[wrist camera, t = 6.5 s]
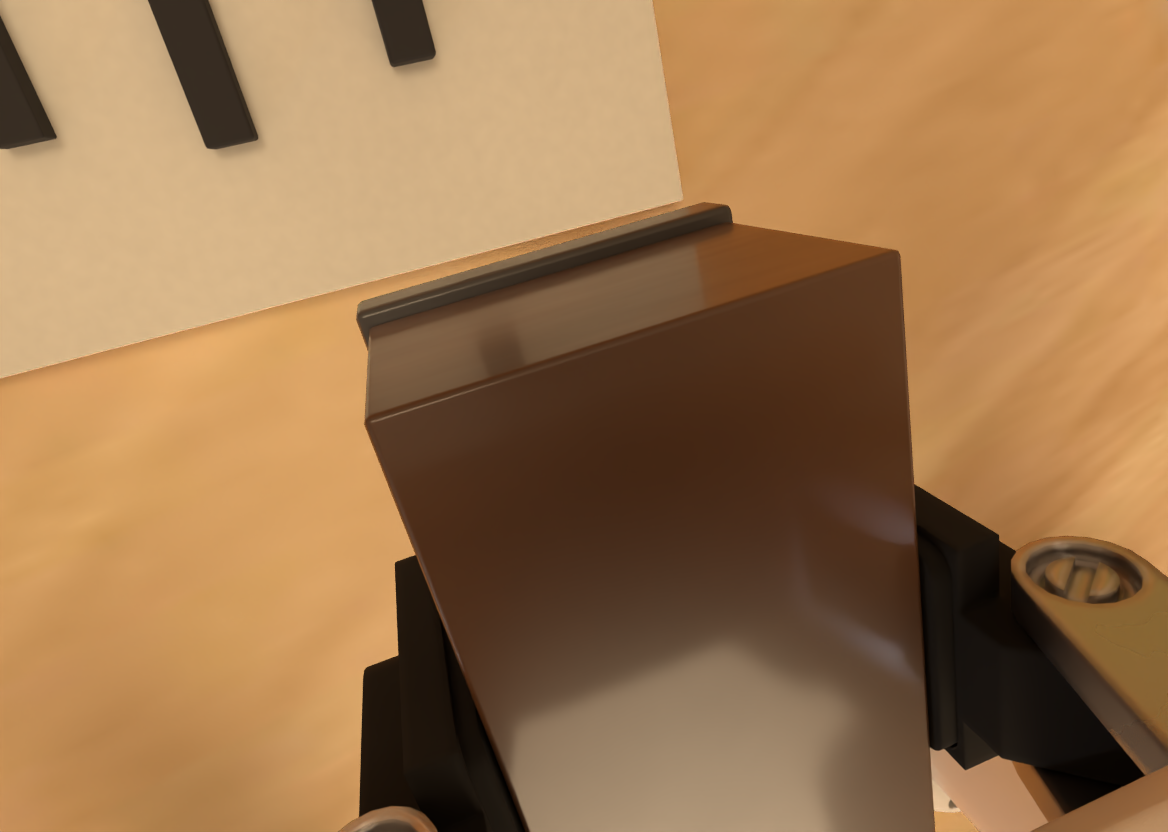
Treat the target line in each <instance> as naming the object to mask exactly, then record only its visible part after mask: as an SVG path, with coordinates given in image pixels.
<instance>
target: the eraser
mask: <svg viewBox="0 0 1168 832" xmlns="http://www.w3.org/2000/svg"><path fill="white" fill-rule="evenodd" d="M356 320H357V323H358V326H359V328H360V331H361V334H362V336H363V339H364V342H365V344H366V347H367V350H368V366H367V385H366V404H365V424H364V425H365V427H366V430H367V433H368V435H369V438H370V440H371V443H372V445H373V448H374V450H375V453H376V455H377V458H378V460H379V463H380V465H381V468H382V471H383V473H384V476H385V478H386V481H387V483H388V486H389V488H390V491H391V493H392V496H393V498H394V501H395V503H396V506H397V509H398V511H399V514H400V516H401V519H402V521H403V524H404V526H405V529H406V531H407V534H408V536H409V539H410V542H411V544H412V547H413V549H414V552H415V554H416V557H417V559H418V562H419V564H420V567H421V569H422V572H423V574H424V577H425V580H426V582H427V585H428V587H429V590H430V592H431V595H432V597H433V600H434V602H435V605H436V607H437V610H438V612H439V615H440V618H441V620H442V623H443V625H444V628H445V630H446V633H447V635H448V638H449V640H450V643H451V645H452V648H453V650H454V653H455V656H456V658H457V661H458V663H459V666H460V668H461V671H462V673H463V676H464V678H465V681H466V683H467V686H468V688H469V691H470V694H471V696H472V699H473V701H474V704H475V706H476V709H477V711H478V714H479V716H480V719H481V721H482V724H483V726H484V729H485V732H486V734H487V737H488V739H489V742H490V744H491V747H492V749H493V752H494V754H495V757H496V759H497V762H498V764H499V767H500V770H501V772H502V775H503V777H504V780H505V782H506V785H507V787H508V790H509V792H510V795H511V797H512V800H513V802H514V805H515V808H516V810H517V813H518V815H519V818H520V820H521V823H522V825H523V828H524V830H525V832H935V821H934V805H933V788H932V772H931V755H930V739H929V722H928V706H927V689H926V673H925V656H924V640H923V623H922V607H921V590H920V574H919V557H918V541H917V524H916V508H915V491H914V475H913V458H912V442H911V425H910V409H909V392H908V376H907V359H906V343H905V327H904V310H903V294H902V277H901V261H900V254H899V252H898V251H897V250H892V249H886V248H880V247H874V246H868V245H862V244H856V243H850V242H844V241H838V240H832V239H826V238H820V237H814V236H808V235H801V234H795V233H789V232H783V231H777V230H771V229H765V228H759V227H753V226H747V225H741V224H735V223H733V221H732V214H731V210H730V208H729V206H728V205H722V204H714V203H705V202H703V203H699V204H696V205H693V206H689V207H686V208H682V209H679V210H675V211H672V212H668V213H665V214H661V215H658V216H655V217H651V218H648V219H644V220H641V221H637V222H634V223H630V224H627V225H623V226H620V227H617V228H613V229H610V230H606V231H603V232H599V233H596V234H592V235H589V236H586V237H582V238H579V239H575V240H572V241H568V242H565V243H561V244H558V245H554V246H551V247H548V248H544V249H541V250H537V251H534V252H530V253H527V254H523V255H520V256H516V257H513V258H510V259H506V260H503V261H499V262H496V263H492V264H489V265H485V266H482V267H478V268H475V269H472V270H468V271H465V272H461V273H458V274H454V275H451V276H447V277H444V278H440V279H437V280H434V281H430V282H427V283H423V284H420V285H416V286H413V287H409V288H406V289H403V290H399V291H396V292H392V293H389V294H385V295H382V296H378V297H375V298H371V299H368V300H365V301H362V302H361V303H360V304H358V308H357V318H356Z"/></svg>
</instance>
